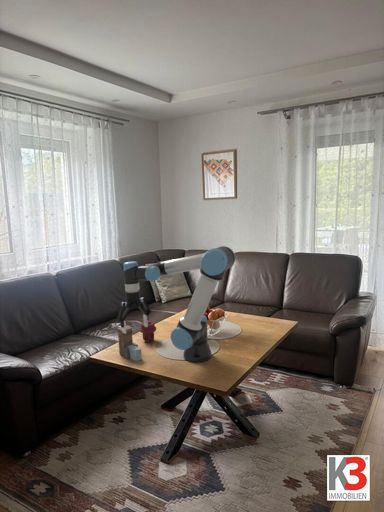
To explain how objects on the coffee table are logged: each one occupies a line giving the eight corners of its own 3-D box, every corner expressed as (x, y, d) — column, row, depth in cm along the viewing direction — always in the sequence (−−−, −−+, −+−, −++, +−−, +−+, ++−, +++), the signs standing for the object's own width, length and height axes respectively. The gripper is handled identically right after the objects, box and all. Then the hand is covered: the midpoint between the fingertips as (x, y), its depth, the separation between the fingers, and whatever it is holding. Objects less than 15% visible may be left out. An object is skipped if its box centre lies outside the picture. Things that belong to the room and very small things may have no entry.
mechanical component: (158, 338, 229) (154, 344, 220) (143, 337, 231) (138, 343, 222) (157, 319, 228) (152, 324, 218) (142, 319, 230) (137, 323, 220)
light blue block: (142, 359, 198) (141, 348, 197) (136, 361, 196) (135, 350, 195) (132, 354, 205) (131, 343, 205) (126, 356, 203) (125, 345, 202)
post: (118, 354, 206) (116, 329, 204) (129, 350, 211) (127, 325, 209) (126, 358, 199) (125, 332, 197) (138, 355, 204) (136, 329, 202)
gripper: (147, 286, 205) (150, 322, 208) (107, 294, 189) (111, 334, 191) (155, 287, 199) (158, 325, 202) (115, 296, 183) (118, 337, 186)
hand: (135, 329), depth 197 cm, fingers open, 13 cm apart
